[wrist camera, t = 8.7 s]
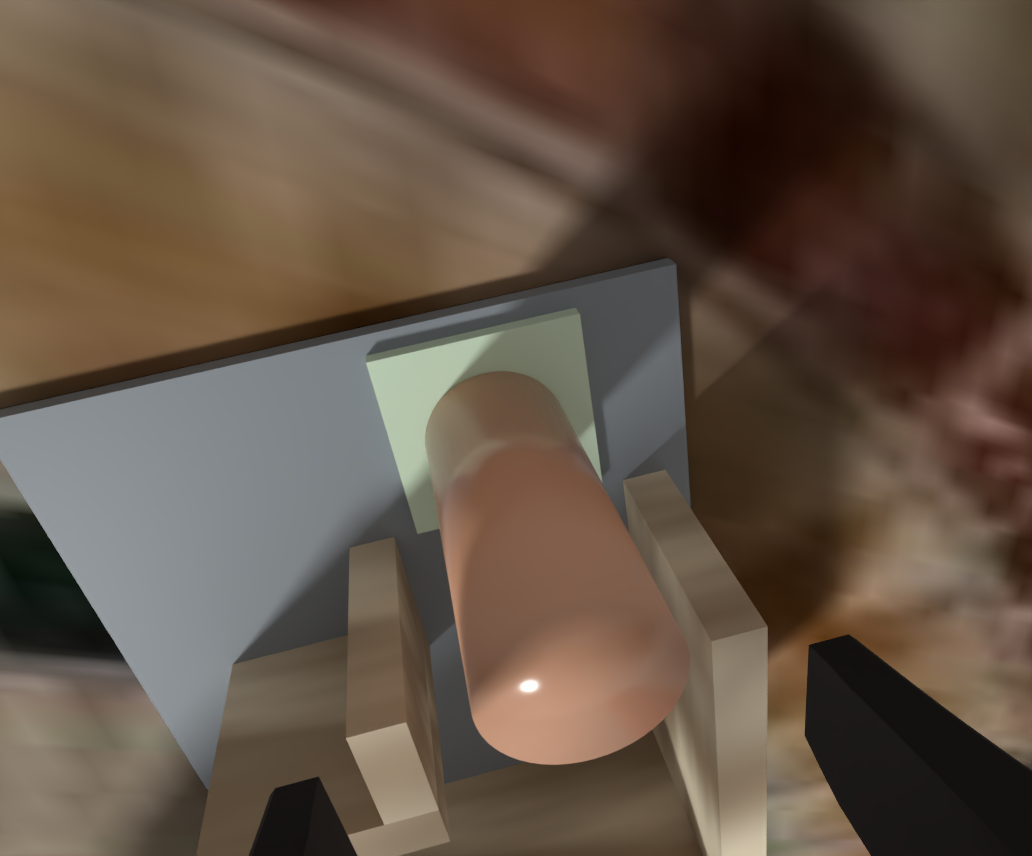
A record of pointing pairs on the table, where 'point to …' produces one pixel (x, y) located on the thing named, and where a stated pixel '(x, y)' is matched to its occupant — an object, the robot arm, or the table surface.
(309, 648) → the tan piece
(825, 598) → the table surface
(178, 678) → the board
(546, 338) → the pad
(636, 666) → the peg
